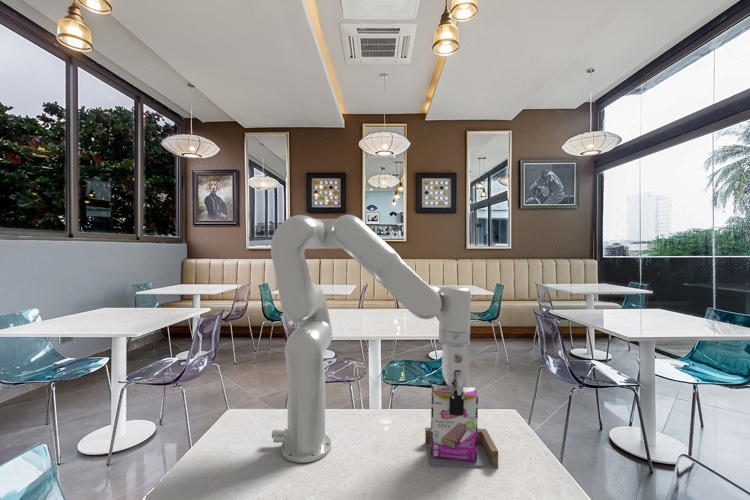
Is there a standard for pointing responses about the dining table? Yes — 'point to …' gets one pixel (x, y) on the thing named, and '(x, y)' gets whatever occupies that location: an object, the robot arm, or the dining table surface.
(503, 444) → the dining table surface
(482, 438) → the walnut corner walls
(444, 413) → the candy bar box
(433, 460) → the slate mat
